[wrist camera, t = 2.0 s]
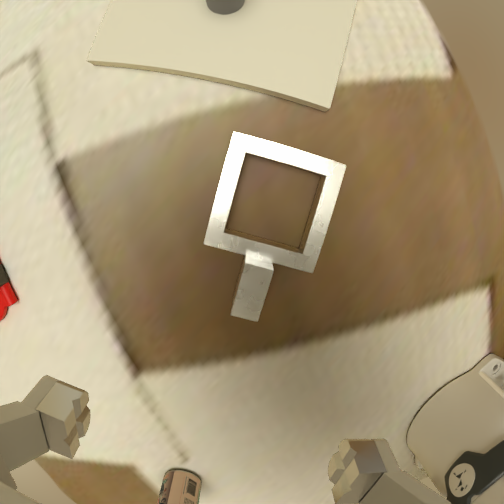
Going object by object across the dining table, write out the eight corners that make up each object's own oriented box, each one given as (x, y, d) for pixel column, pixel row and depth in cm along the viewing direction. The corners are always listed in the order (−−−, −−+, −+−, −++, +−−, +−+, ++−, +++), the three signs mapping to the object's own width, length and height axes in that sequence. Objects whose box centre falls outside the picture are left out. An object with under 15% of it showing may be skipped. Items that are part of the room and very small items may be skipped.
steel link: (293, 309, 27) (299, 331, 23) (196, 284, 27) (187, 303, 23) (339, 165, 24) (354, 164, 20) (235, 134, 24) (231, 127, 20)
